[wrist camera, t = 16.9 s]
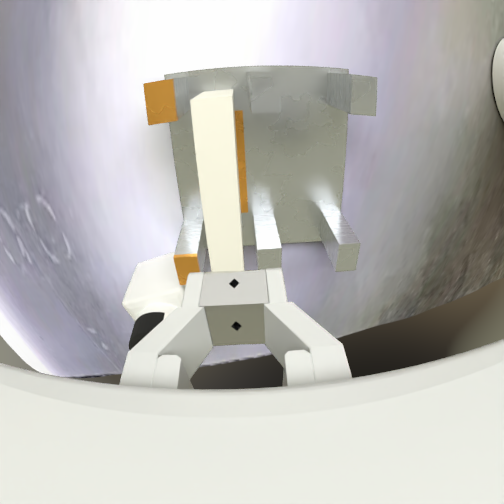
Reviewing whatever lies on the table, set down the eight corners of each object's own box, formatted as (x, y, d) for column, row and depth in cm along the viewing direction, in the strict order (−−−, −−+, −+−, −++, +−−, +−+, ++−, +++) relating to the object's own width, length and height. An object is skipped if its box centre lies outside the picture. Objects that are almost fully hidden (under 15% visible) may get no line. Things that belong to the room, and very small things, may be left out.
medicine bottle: (163, 303, 38) (147, 382, 28) (136, 262, 34) (106, 341, 24) (213, 291, 37) (208, 373, 27) (189, 245, 33) (173, 328, 23)
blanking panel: (233, 89, 22) (232, 96, 16) (242, 230, 30) (244, 281, 24) (203, 91, 22) (189, 100, 16) (217, 232, 30) (213, 283, 24)
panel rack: (344, 69, 23) (379, 71, 16) (334, 234, 33) (355, 277, 27) (167, 74, 22) (142, 76, 16) (190, 243, 33) (180, 289, 26)
